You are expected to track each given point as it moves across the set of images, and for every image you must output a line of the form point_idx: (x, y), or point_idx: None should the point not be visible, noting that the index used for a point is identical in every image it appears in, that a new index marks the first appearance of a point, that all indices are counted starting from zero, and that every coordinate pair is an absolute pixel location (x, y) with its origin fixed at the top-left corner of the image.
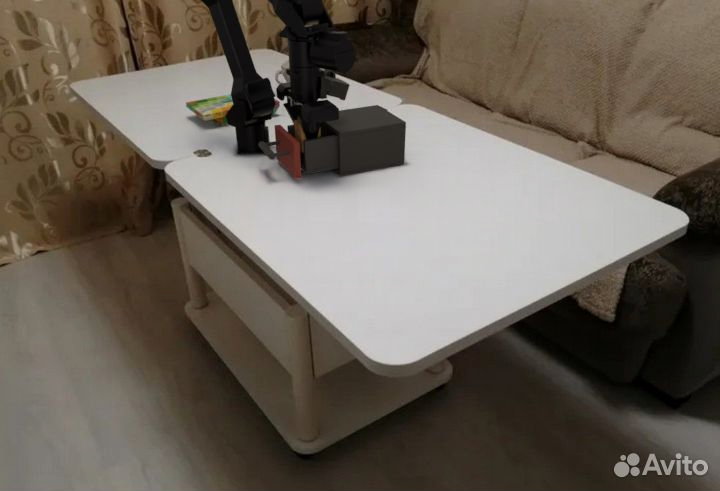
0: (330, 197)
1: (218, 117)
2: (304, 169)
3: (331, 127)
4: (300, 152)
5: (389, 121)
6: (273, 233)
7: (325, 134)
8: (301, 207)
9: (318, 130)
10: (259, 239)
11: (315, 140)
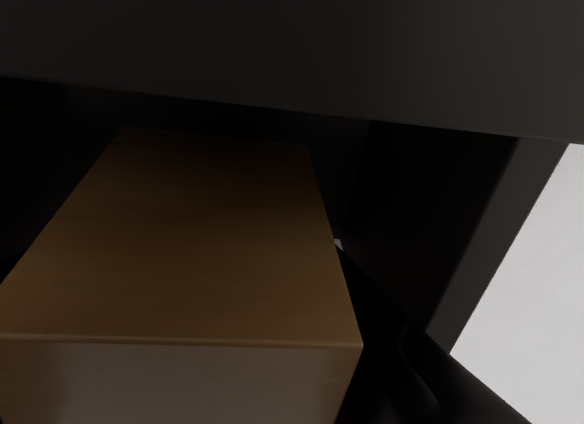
0: (566, 203)
1: None
2: (334, 237)
3: (425, 124)
4: (72, 159)
5: None
6: (569, 395)
7: None
8: (527, 309)
9: (426, 343)
10: (560, 418)
11: (456, 335)
